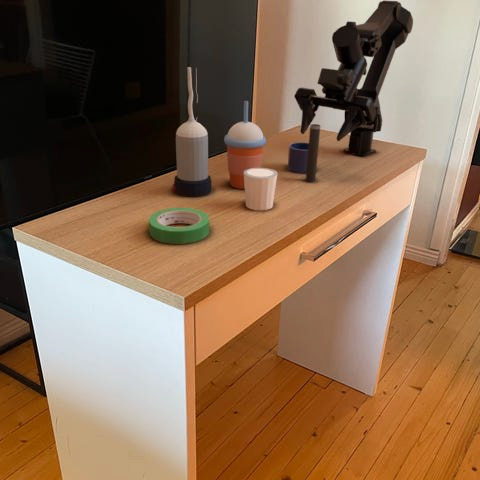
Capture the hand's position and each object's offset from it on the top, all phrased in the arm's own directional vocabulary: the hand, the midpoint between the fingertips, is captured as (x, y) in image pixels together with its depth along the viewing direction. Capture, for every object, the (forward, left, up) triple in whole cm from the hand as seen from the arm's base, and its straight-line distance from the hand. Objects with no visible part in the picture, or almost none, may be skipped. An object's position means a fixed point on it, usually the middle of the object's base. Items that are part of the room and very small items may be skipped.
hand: (319, 136), depth 130 cm
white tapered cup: (+23, +3, -10) cm, 25 cm away
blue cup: (-3, -7, -10) cm, 12 cm away
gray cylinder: (+2, 0, -10) cm, 10 cm away
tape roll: (+44, +2, -10) cm, 45 cm away
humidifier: (+27, -13, -10) cm, 31 cm away
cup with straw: (+16, -8, -10) cm, 20 cm away
